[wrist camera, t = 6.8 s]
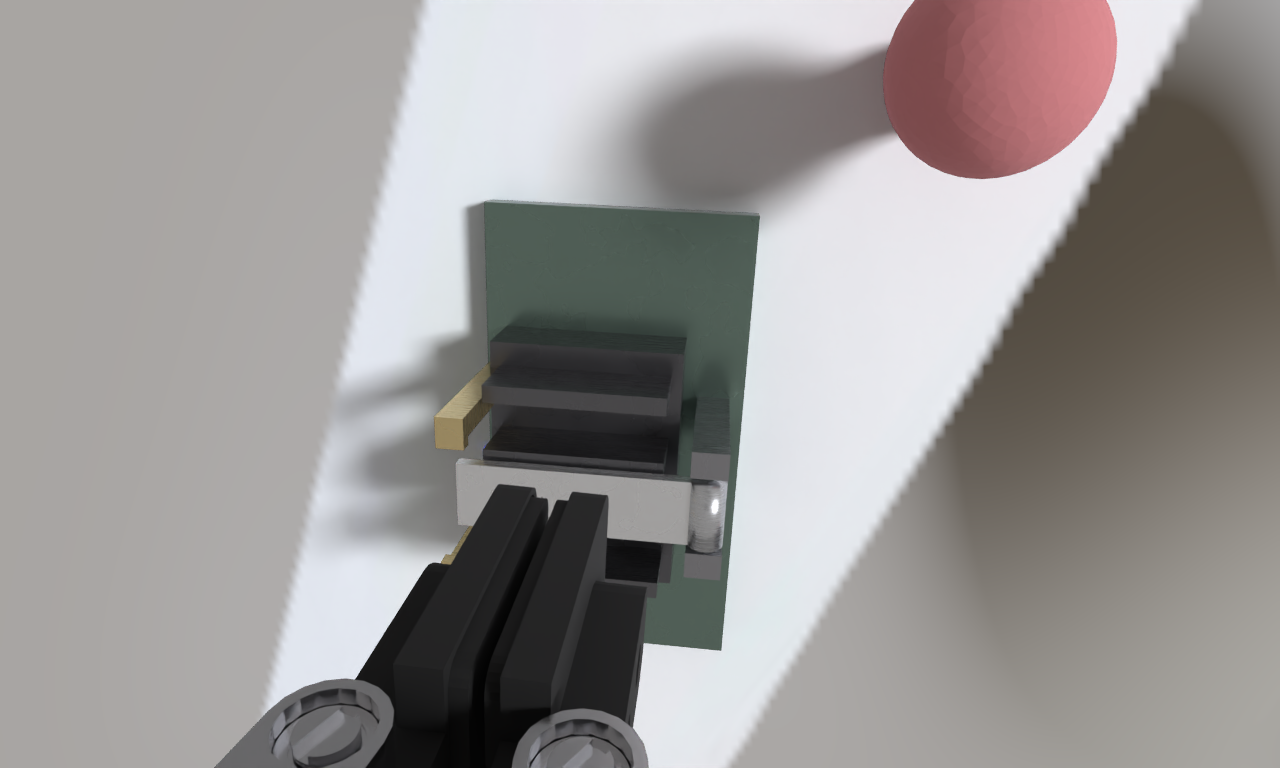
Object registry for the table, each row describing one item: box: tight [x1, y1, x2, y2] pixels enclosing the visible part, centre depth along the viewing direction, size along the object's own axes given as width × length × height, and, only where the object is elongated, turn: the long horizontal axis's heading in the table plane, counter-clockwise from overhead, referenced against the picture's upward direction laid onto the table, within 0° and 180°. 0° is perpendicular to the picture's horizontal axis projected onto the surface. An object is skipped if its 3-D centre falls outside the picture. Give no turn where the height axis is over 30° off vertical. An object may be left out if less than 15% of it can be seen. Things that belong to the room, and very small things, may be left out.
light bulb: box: [883, 0, 1117, 179], centre depth 28 cm, size 7×7×12 cm
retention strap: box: [455, 458, 728, 553], centre depth 34 cm, size 3×12×2 cm, turn 88°
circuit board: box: [434, 200, 760, 651], centre depth 36 cm, size 24×13×9 cm, turn 178°
